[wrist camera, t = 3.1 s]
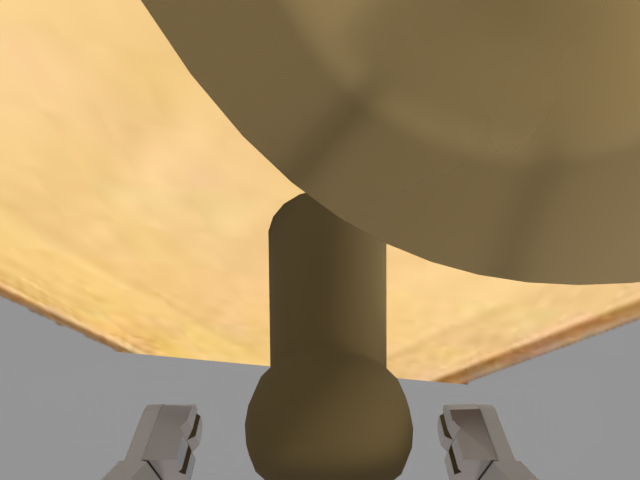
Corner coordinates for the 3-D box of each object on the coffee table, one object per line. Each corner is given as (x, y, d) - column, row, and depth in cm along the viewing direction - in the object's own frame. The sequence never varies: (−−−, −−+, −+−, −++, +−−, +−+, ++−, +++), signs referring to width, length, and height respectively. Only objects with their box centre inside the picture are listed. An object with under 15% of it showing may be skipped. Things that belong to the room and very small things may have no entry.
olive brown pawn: (402, 260, 20) (461, 505, 11) (302, 293, 21) (287, 526, 13) (359, 169, 16) (397, 421, 8) (245, 216, 18) (172, 466, 9)
